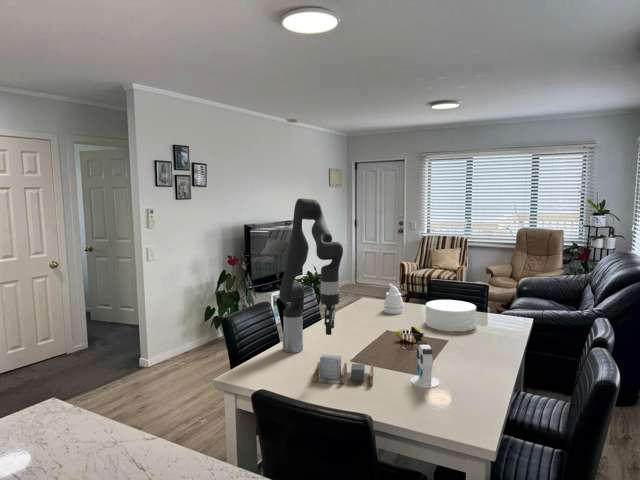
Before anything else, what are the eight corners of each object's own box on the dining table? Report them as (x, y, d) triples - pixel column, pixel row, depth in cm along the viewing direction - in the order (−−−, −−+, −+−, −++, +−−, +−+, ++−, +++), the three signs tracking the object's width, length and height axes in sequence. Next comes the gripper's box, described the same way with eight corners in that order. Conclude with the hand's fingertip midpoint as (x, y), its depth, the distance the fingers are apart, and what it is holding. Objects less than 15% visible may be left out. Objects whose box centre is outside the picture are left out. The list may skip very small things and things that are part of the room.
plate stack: (480, 322, 255) (481, 303, 254) (468, 334, 232) (469, 313, 231) (434, 315, 270) (434, 297, 269) (418, 327, 247) (418, 307, 246)
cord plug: (351, 381, 171) (351, 369, 170) (352, 372, 180) (352, 360, 179) (363, 382, 170) (363, 370, 169) (364, 372, 179) (364, 361, 179)
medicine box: (341, 376, 176) (341, 355, 175) (338, 380, 172) (338, 359, 171) (323, 374, 178) (322, 353, 177) (319, 378, 174) (319, 357, 173)
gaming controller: (394, 340, 223) (409, 345, 215) (394, 330, 223) (409, 335, 215) (413, 335, 232) (428, 339, 224) (413, 325, 232) (428, 329, 224)
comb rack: (313, 385, 170) (313, 373, 169) (318, 373, 182) (318, 361, 181) (372, 388, 166) (372, 376, 166) (373, 376, 178) (373, 364, 178)
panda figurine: (407, 375, 178) (408, 340, 177) (435, 375, 178) (436, 340, 177) (413, 388, 166) (413, 350, 165) (442, 388, 166) (443, 350, 165)
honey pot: (383, 313, 277) (383, 285, 275) (384, 308, 289) (384, 282, 288) (404, 314, 275) (404, 286, 273) (403, 309, 287) (403, 282, 286)
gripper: (323, 287, 180) (323, 325, 181) (317, 295, 166) (318, 336, 167) (341, 288, 178) (341, 326, 180) (337, 295, 164) (337, 337, 166)
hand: (330, 331), depth 173 cm, fingers open, 8 cm apart
